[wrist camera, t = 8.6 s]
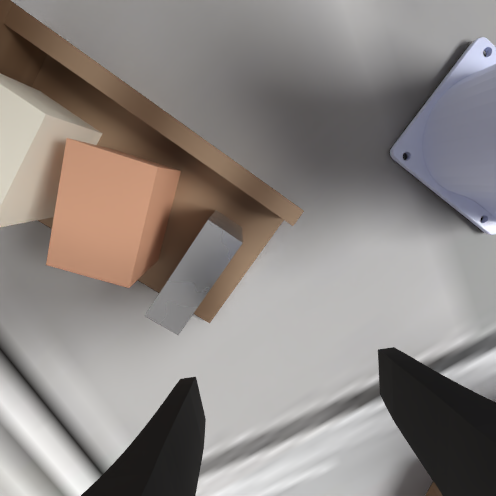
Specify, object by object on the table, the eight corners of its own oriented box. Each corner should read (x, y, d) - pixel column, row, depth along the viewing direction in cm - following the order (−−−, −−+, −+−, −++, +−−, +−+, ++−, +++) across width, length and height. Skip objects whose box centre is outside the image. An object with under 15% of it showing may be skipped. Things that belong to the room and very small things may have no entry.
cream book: (102, 133, 17) (46, 114, 12) (57, 216, 18) (-12, 229, 13) (39, 91, 16) (-48, 52, 11) (-3, 179, 17) (-100, 178, 12)
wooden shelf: (292, 205, 19) (319, 218, 12) (210, 319, 20) (196, 383, 14) (37, 23, 16) (-101, -84, 9) (-31, 174, 18) (-187, 170, 11)
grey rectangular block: (242, 227, 18) (242, 242, 14) (192, 299, 19) (178, 335, 15) (216, 209, 18) (207, 219, 13) (167, 284, 19) (144, 315, 14)
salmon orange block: (180, 171, 17) (157, 167, 12) (158, 260, 19) (129, 288, 14) (116, 150, 17) (66, 137, 12) (97, 242, 18) (45, 264, 13)
